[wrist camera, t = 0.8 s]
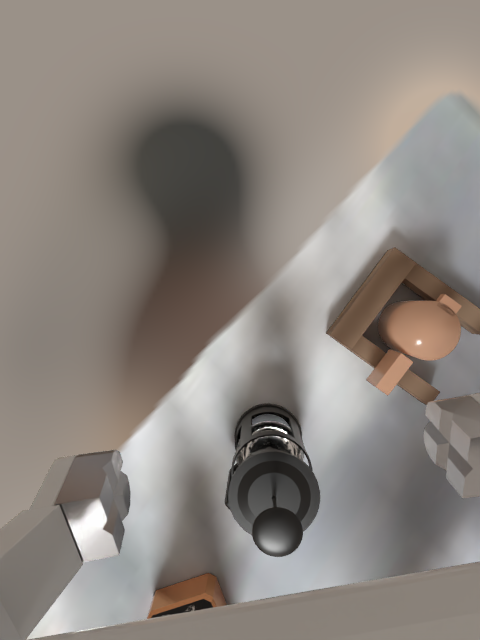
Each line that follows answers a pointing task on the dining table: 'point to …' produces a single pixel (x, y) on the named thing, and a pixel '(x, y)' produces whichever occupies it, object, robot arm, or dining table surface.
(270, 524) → the french press
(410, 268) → the brown block arch
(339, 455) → the dining table surface
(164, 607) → the whiskey bottle
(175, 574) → the dining table surface
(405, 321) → the tan rounded piece
